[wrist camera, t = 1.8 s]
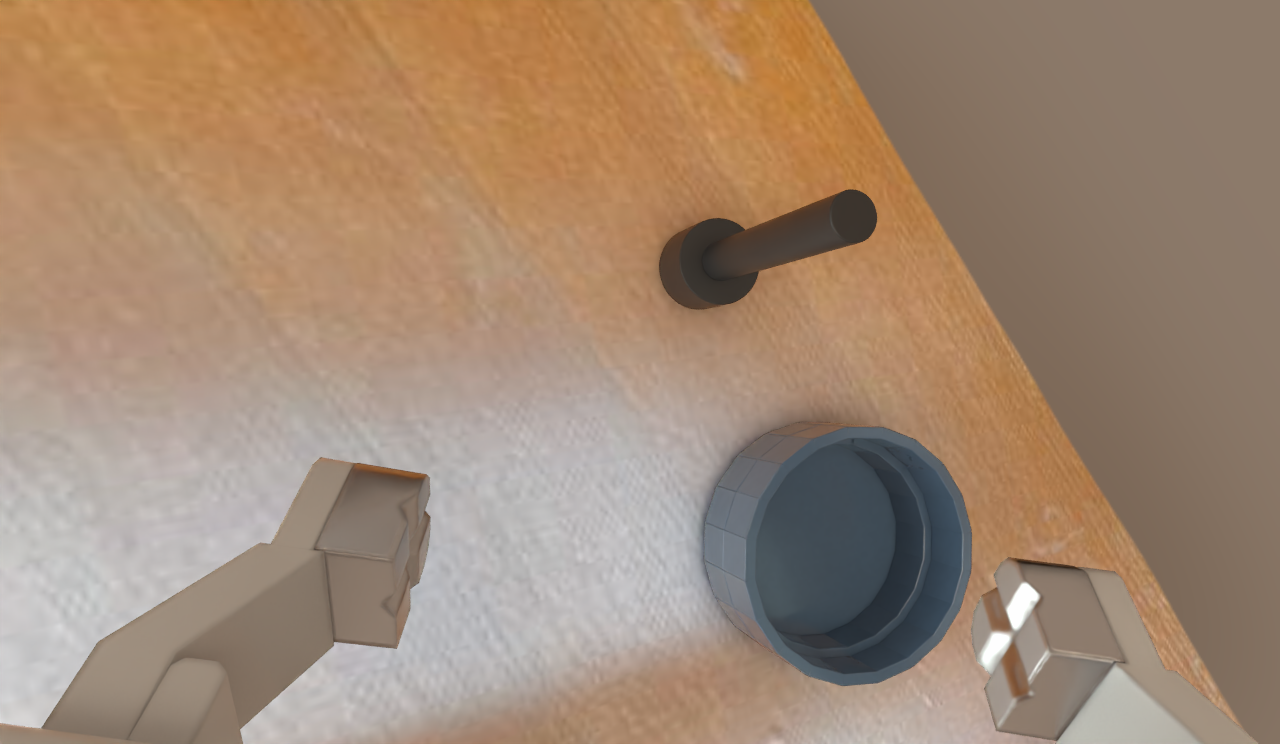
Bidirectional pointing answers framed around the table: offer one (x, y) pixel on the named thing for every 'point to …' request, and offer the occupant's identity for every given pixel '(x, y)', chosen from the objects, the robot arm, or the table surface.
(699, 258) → the black rod with base
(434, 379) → the table surface
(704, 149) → the table surface
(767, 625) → the bowl
